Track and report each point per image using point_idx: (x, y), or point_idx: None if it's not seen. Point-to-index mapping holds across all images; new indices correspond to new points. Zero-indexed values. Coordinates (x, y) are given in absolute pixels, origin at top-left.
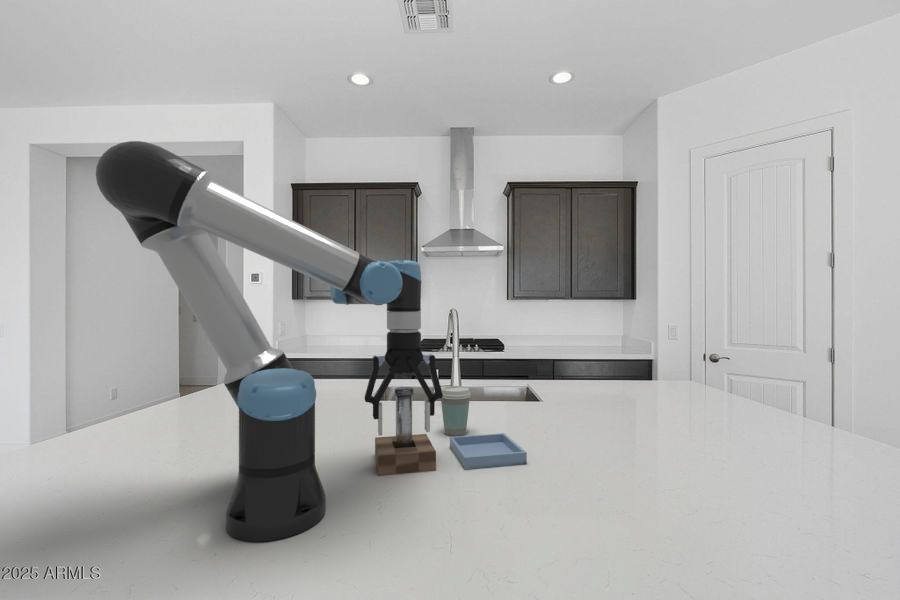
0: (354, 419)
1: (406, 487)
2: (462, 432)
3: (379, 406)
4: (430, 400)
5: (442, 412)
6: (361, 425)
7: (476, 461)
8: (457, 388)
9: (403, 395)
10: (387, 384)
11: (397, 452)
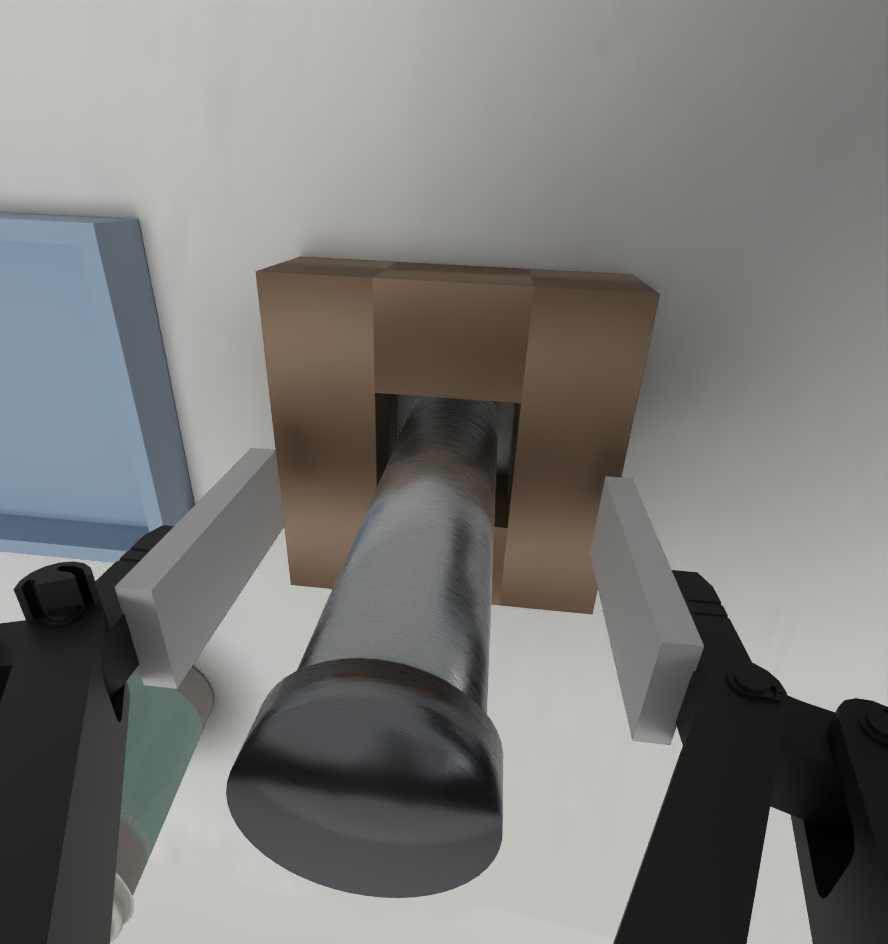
0: (578, 923)
1: (507, 32)
2: None
3: (691, 634)
4: (94, 604)
5: (171, 790)
6: (563, 866)
7: (41, 217)
8: None
9: (397, 674)
10: (651, 920)
11: (514, 321)
